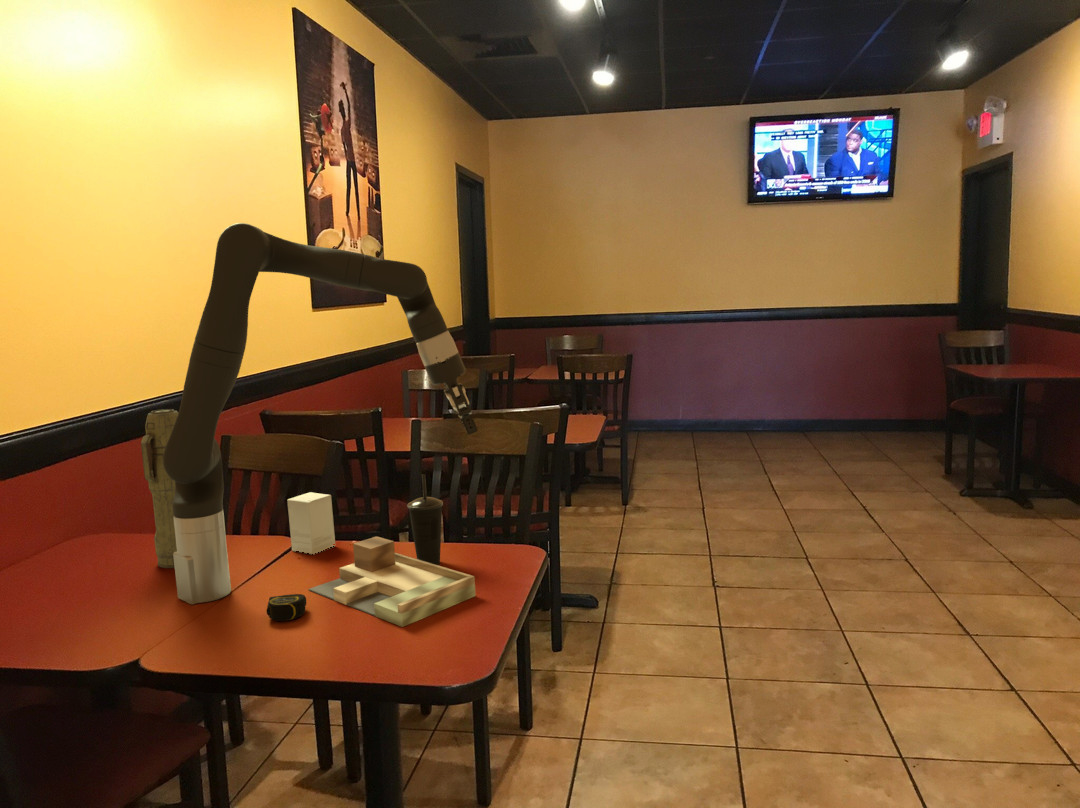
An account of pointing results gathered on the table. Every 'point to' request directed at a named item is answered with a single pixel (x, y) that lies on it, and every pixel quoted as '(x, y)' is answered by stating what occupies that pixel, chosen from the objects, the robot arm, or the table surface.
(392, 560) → the walnut block
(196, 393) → the robot arm
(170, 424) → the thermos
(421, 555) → the drinking cup
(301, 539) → the supplement box
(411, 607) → the board
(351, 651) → the table surface
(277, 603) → the tape measure
